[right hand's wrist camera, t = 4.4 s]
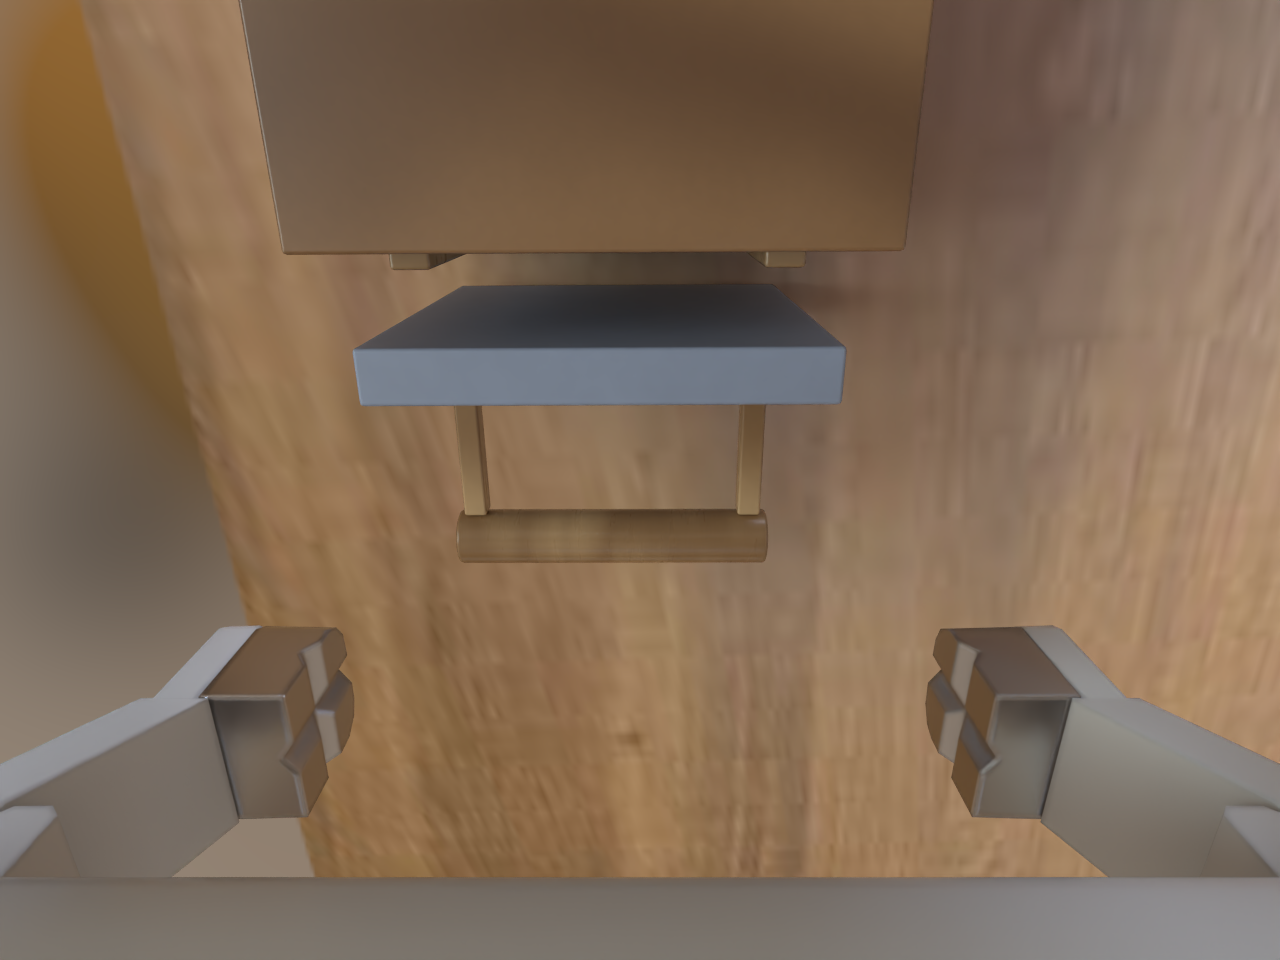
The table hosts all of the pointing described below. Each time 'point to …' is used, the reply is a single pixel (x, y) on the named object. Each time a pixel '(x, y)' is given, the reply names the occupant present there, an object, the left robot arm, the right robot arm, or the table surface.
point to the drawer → (605, 395)
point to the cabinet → (588, 124)
